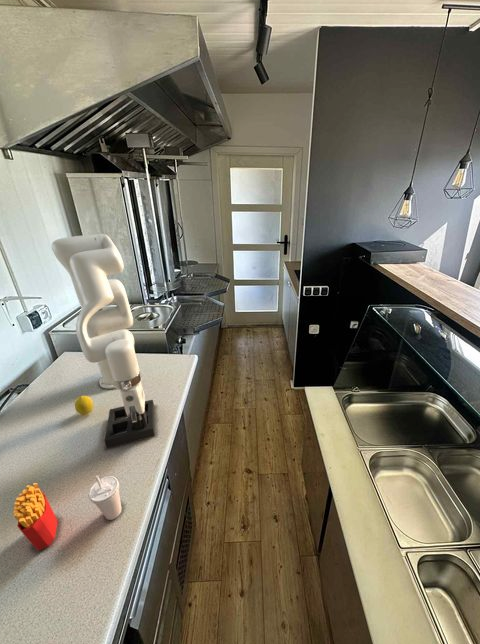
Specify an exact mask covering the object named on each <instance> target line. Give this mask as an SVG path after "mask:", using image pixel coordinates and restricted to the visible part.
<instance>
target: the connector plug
mask: <svg viewBox="0 0 480 644" xmlns="http://www.w3.org/2000/svg"><path fill="white" fill-rule="evenodd" d="M146 413H147V411H146V412H145V410H144V413H143V414H141V416H142V417H143V420H144V424H145V427H146V426H148V424H147V416H146ZM136 416H137V417H138V416H139V414H136ZM130 418H131V415H130ZM131 422H132V418H131ZM132 425H133V423H132ZM133 428H134V426H133ZM134 430H135V429H134Z"/></svg>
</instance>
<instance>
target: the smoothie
mask: <svg viewBox="0 0 480 644" xmlns="http://www.w3.org/2000/svg"><path fill="white" fill-rule="evenodd" d="M94 477H95V479H96V482H94V484H93V485H91V488H90V489H89V493H88V497H89V501H90V502H91V503H92V504H94V505H96V507H97V508H98V509H99V511H100V513H102V515H103V516H104V517H105V519H106V520H108V521H112V520H115V519H117V518H118V517H119V516H120V514H121V512H122V503H121V497H120V491H119V490H120V489H119V488H120V483H119V482H120V481H118V479H117V478H116V477H115V476H112V475H109V476H104V477H102V478H100V477H99V475H98V474H97V475H95V476H94Z"/></svg>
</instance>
